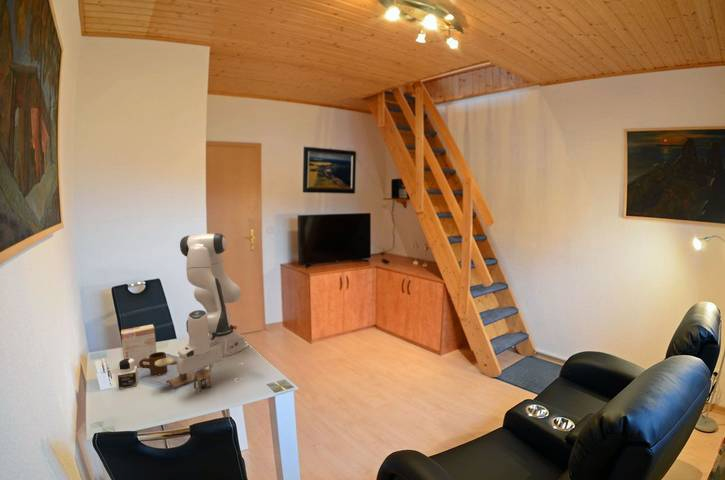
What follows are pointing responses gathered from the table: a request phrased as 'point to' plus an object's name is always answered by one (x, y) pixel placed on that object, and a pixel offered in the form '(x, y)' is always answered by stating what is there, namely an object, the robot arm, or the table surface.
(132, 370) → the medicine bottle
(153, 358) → the mug
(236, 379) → the beige angular frame
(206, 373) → the tan peg block
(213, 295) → the robot arm
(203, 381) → the grey domed cylinder
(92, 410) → the table surface
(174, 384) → the balance
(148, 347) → the coffeecake box
